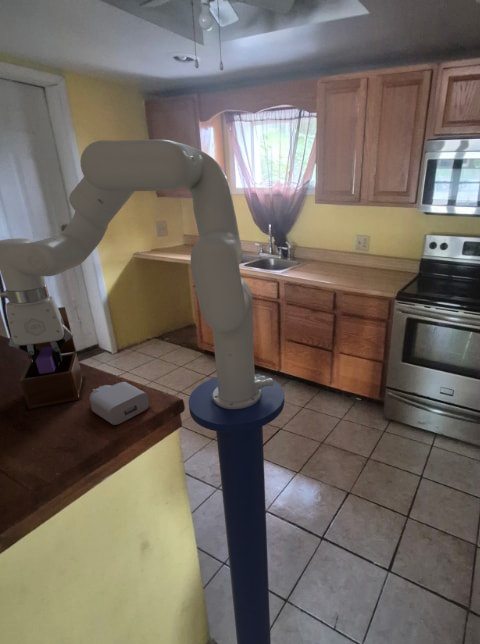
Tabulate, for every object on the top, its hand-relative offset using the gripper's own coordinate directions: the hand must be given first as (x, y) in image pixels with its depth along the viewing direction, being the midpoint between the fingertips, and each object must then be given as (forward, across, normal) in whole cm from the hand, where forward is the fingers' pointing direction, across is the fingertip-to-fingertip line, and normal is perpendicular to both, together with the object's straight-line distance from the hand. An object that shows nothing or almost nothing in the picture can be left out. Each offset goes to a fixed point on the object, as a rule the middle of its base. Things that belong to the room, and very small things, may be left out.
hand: (49, 364), depth 92 cm
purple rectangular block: (0, 0, 0) cm, 0 cm away
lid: (-6, 0, +6) cm, 8 cm away
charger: (+8, +14, -12) cm, 20 cm away
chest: (+8, 0, 0) cm, 8 cm away
